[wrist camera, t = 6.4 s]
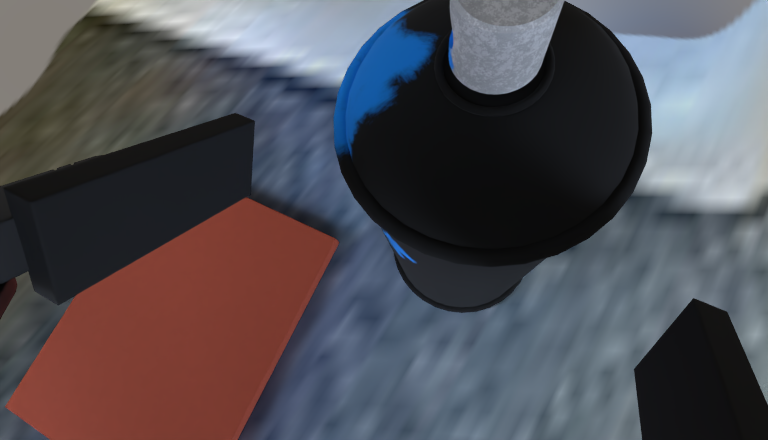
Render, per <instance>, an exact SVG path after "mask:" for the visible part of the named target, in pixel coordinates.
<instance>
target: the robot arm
mask: <svg viewBox="0 0 768 440" xmlns="http://www.w3.org/2000/svg"><path fill="white" fill-rule="evenodd" d="M254 126H255V121H254V120H251V119H249V118H246V117H244V116H241V115H239V114H236V113H234V114H231V115H228V116H224V117H221V118H218V119H215V120H212V121H209V122H206V123H203V124H200V125H196V126H193V127H190V128H187V129H184V130H181V131H178V132H175V133H171V134H168V135H165V136H162V137H159V138H156V139H153V140H150V141H147V142H143V143H140V144H137V145H134V146H131V147H128V148H125V149H122V150H119V151H115V152H112V153H109V154H106V155H101V156H94V157H91V158H88V159H85V160H81V161H78V162H75V163H74V164H73V165H71V164H69V165H66V166H63V167H59V168H57V170H56V171H55V170H50V171H47V172H44V173H40V174H37V175H34V176H31V177H28V178H25V179H22V180H18V181H15V182H12V183H9V184H6V185H3V186H0V319H1V317H2V315H3V313H4V312H5V310H6V308H7V306H8V304H9V303H10V301H11V299H12V297H13V296H14V294H15V292H16V288H17V282H16V279H15V277H17V276H19V275H21V274H23V273H25V272H27V271H29V275H30V278H31V281H32V285H33V288H34V291H35V292H37V293H39V294H40V295H42V296H44V297H45V298H47V299H49V300H50V301H52V302H53V303H55V304H57V305H60V304H62V303H63V302H65V301H67V300H69V299H70V298H72V297H74V296H75V295H77V294H79V293H81V292H82V291H84V290H86V289H88V288H89V287H91V286H93V285H95V284H96V283H98V282H100V281H102V280H103V279H105V278H107V277H108V276H110V275H112V274H114V273H115V272H117V271H119V270H121V269H122V268H124V267H126V266H128V265H129V264H131V263H133V262H135V261H136V260H138V259H140V258H141V257H143V256H145V255H147V254H148V253H150V252H152V251H154V250H155V249H157V248H159V247H161V246H162V245H164V244H166V243H168V242H169V241H171V240H173V239H174V238H176V237H178V236H180V235H181V234H183V233H185V232H187V231H188V230H190V229H192V228H194V227H195V226H197V225H199V224H201V223H202V222H204V221H206V220H207V219H209V218H211V217H213V216H214V215H216V214H218V213H220V212H221V211H223V210H225V209H227V208H228V207H230V206H232V205H234V204H235V203H237V202H239V201H240V200H242V199H244V198H246V197H247V196H249V195H251V179H252V161H253V144H254ZM634 372H635V381H636V390H637V398H638V407H639V415H640V424H641V432H642V440H768V405H767V402H766V400H765V398H764V395H763V393H762V391H761V389H760V386H759V384H758V382H757V379H756V377H755V375H754V372H753V370H752V368H751V366H750V363H749V361H748V359H747V356H746V354H745V352H744V349H743V347H742V345H741V343H740V340H739V338H738V336H737V333H736V331H735V329H734V326H733V324H732V322H731V320H730V317H729V315H728V313H727V312H726V311H724V310H721V309H719V308H716V307H714V306H711V305H709V304H707V303H704V302H702V301H699V300H697V299H694V298H693V299H692V301H691V302H690V303H689V304H688V305H687V307H686V308H685V309H684V310H683V311H682V312H681V314H680V315H679V316H678V317H677V318H676V320H675V321H674V322H673V323H672V324H671V326H670V327H669V328H668V329H667V330H666V332H665V333H664V334H663V335H662V336H661V338H660V339H659V340H658V341H657V342H656V344H655V345H654V346H653V347H652V348H651V350H650V351H649V352H648V353H647V354H646V356H645V357H644V358H643V359H642V360H641V362H640V363H639V364H638V365H637V366H636V367H635V369H634Z"/></svg>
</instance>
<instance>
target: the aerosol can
mask: <svg viewBox="0 0 768 440" xmlns="http://www.w3.org/2000/svg"><path fill="white" fill-rule="evenodd" d="M651 137H652V120H651V104H650V100H649V97H648V93H647V90H646V86H645V83H644V79H643V76H642V75H641V73H640V71H639V69H638V67H637V65H636V64H635V62H634V60H633V58H632V56H631V54H630V53H629V51H628V50H627V49H626V48H625V47H624V46H623V44H622V43H621V42H620V41H619V40H618V39H617V37H616V36H615V35H614V34H613V33H612V32H611V31H610V30H609V29H608V28H606V27H605V26H604V25H603V24H601V23H600V22H599V21H598V20H596V19H595V18H594V17H592V16H591V15H590V14H589V13H587V12H585V11H583V10H581V9H579V8H577V7H576V6H574V5H572V4H570V3H568V2H566V1H564V0H423V1H421V2H420V3H418V4H416V5H414V6H412V7H410V8H408V9H406V10H404V11H402V12H400V13H399V14H398V15H396V16H395V17H394V18H392V19H391V20H390V21H388V22H387V23H386V24H384V25H383V26H382V27H380V28H379V29H378V30H377V31H376V32H375V33H374V34H373V35H372V37H371V38H370V39H369V40H368V41H367V42H366V43H365V44H364V45H363V46H362V47H361V49H360V50H359V52H358V53H357V55H356V56H355V58H354V60H353V61H352V63H351V64H350V66H349V67H348V69H347V72H346V74H345V77H344V79H343V82H342V84H341V87H340V89H339V92H338V96H337V102H336V108H335V113H334V143H335V150H336V154H337V158H338V161H339V165H340V169H341V173H342V175H343V177H344V179H345V181H346V183H347V185H348V186H349V188H350V190H351V192H352V194H353V196H354V198H355V199H356V200H357V202H358V203H359V204H360V205H361V207H362V208H363V209H364V210H365V211H366V213H367V214H368V215H369V216H370V218H371V219H372V220H373V221H374V222H375V223H377V224H378V225H379V226H380V227H381V228H382V230H383V232H384V234H385V236H386V238H387V240H388V241H389V243H390V245H391V247H392V249H393V251H394V257H395V261H396V264H397V268H398V270H399V272H400V274H401V276H402V278H403V280H404V281H405V283H406V284H407V285H408V286H409V288H410V289H411V290H412V291H413V292H414V293H415V294H416V295H417V296H419V297H420V298H421V299H422V300H424V301H425V302H427V303H429V304H431V305H433V306H434V307H437V308H440V309H443V310H447V311H452V312H461V313H463V312H476V311H479V310H483V309H486V308H490V307H491V306H493V305H495V304H497V303H499V302H501V301H502V300H504V299H505V298H506V297H507V296H508V295H510V294H511V293H512V292H513V291H514V289H515V288H516V287H517V286H518V284H519V283H520V282H521V280H522V278H523V277H524V276H525V275H526V274H527V273H529V272H530V271H531V270H532V269H534V268H535V267H536V266H537V265H538V264H540V263H541V262H542V261H543V260H544V259H546V258H548V257H551V256H555V255H558V254H560V253H562V252H564V251H566V250H568V249H569V248H571V247H573V246H575V245H577V244H579V243H581V242H583V241H585V240H587V239H588V238H590V237H591V236H592V235H593V234H594V233H596V232H597V231H598V230H599V229H600V228H602V227H603V226H604V225H605V224H606V223H608V222H609V221H610V220H611V219H613V218H614V216H615V215H616V214H617V212H618V211H619V210H620V209H621V207H622V206H623V205H624V203H625V202H626V201H627V200H628V198H629V197H630V196H631V194H632V193H633V191H634V189H635V187H636V185H637V182H638V180H639V178H640V176H641V174H642V172H643V169H644V167H645V165H646V162H647V157H648V152H649V147H650V142H651Z"/></svg>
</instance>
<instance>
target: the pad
mask: <svg viewBox="0 0 768 440" xmlns="http://www.w3.org/2000/svg"><path fill="white" fill-rule="evenodd" d="M338 244H339V241H338V240H337V239H336V238H333V237H331V236H329V235H327V234H325V233H323V232H321V231H318V230H316V229H314V228H312V227H310V226H308V225H305V224H303V223H301V222H299V221H297V220H295V219H293V218H290V217H288V216H286V215H284V214H282V213H280V212H277V211H275V210H273V209H271V208H269V207H267V206H265V205H262V204H260V203H258V202H256V201H254V200H252V199H250V198H247V197H246V198H244V199H242V200H240V201H239V202H237V203H235V204H234V205H232V206H230V207H228V208H227V209H225V210H223V211H221V212H220V213H218V214H216V215H214V216H213V217H211V218H209V219H207V220H206V221H204V222H202V223H201V224H199V225H197V226H195V227H194V228H192V229H190V230H188V231H187V232H185V233H183V234H181V235H180V236H178V237H176V238H174V239H173V240H171V241H169V242H168V243H166V244H164V245H162V246H161V247H159V248H157V249H155V250H154V251H152V252H150V253H148V254H147V255H145V256H143V257H141V258H140V259H138V260H136V261H135V262H133V263H131V264H129V265H128V266H126V267H124V268H122V269H121V270H119V271H117V272H115V273H114V274H112V275H110V276H108V277H107V278H105V279H103V280H102V281H100V282H98V283H96V284H95V285H93V286H91V287H89V288H88V289H86V290H84V291H82V292H81V293H79V294H77V295H76V296H75V298H74V299H73V301H72V302H71V304H70V306H69V307H68V309H67V310H66V312H65V313H64V315H63V317H62V318H61V320H60V321H59V323H58V324H57V326H56V328H55V329H54V331H53V332H52V334H51V335H50V337H49V339H48V340H47V342H46V343H45V345H44V346H43V348H42V350H41V351H40V353H39V354H38V356H37V357H36V359H35V360H34V362H33V364H32V365H31V367H30V368H29V370H28V371H27V373H26V375H25V376H24V378H23V379H22V381H21V382H20V384H19V386H18V387H17V389H16V390H15V392H14V393H13V395H12V397H11V398H10V400H9V401H8V403H7V404H6V406H5V407H6V408H8V409H9V410H10V411H12V412H13V413H14V414H16V415H17V416H19V417H20V418H21V419H23V420H24V421H25V422H27V423H28V424H30V425H31V426H32V427H34V428H35V429H36V430H38V431H39V432H41V433H42V434H43V435H45V436H46V437H47V438H49V439H50V440H238V438H239V436H240V434H241V432H242V430H243V428H244V426H245V424H246V422H247V420H248V419H249V417H250V415H251V413H252V411H253V409H254V407H255V405H256V403H257V401H258V399H259V397H260V395H261V393H262V391H263V390H264V388H265V386H266V384H267V382H268V380H269V378H270V376H271V374H272V372H273V370H274V368H275V366H276V364H277V362H278V360H279V359H280V357H281V355H282V353H283V351H284V349H285V347H286V345H287V343H288V341H289V339H290V337H291V335H292V333H293V331H294V329H295V328H296V326H297V324H298V322H299V320H300V318H301V316H302V314H303V312H304V310H305V308H306V306H307V304H308V302H309V300H310V299H311V297H312V295H313V293H314V291H315V289H316V287H317V285H318V283H319V281H320V279H321V277H322V275H323V273H324V271H325V269H326V268H327V266H328V264H329V262H330V260H331V258H332V256H333V254H334V252H335V250H336V248H337V246H338Z"/></svg>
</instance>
